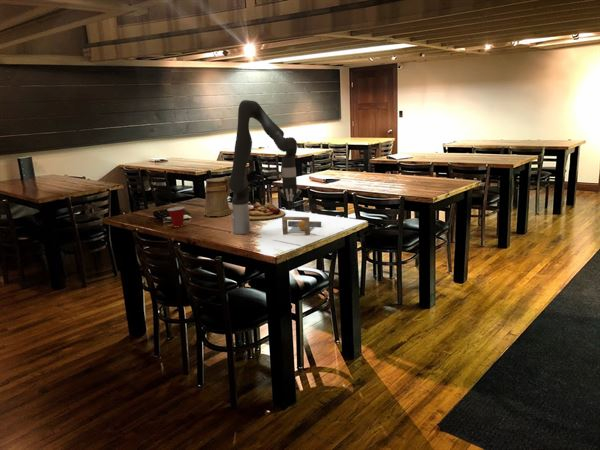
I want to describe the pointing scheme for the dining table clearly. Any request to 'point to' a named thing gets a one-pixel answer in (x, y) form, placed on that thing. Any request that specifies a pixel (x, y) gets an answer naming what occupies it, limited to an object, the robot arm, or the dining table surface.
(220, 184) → the tankard
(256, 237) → the dining table surface
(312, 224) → the wall
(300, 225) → the ball
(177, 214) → the plastic cup
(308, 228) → the tan arch
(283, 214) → the wooden plate with food
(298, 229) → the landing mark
